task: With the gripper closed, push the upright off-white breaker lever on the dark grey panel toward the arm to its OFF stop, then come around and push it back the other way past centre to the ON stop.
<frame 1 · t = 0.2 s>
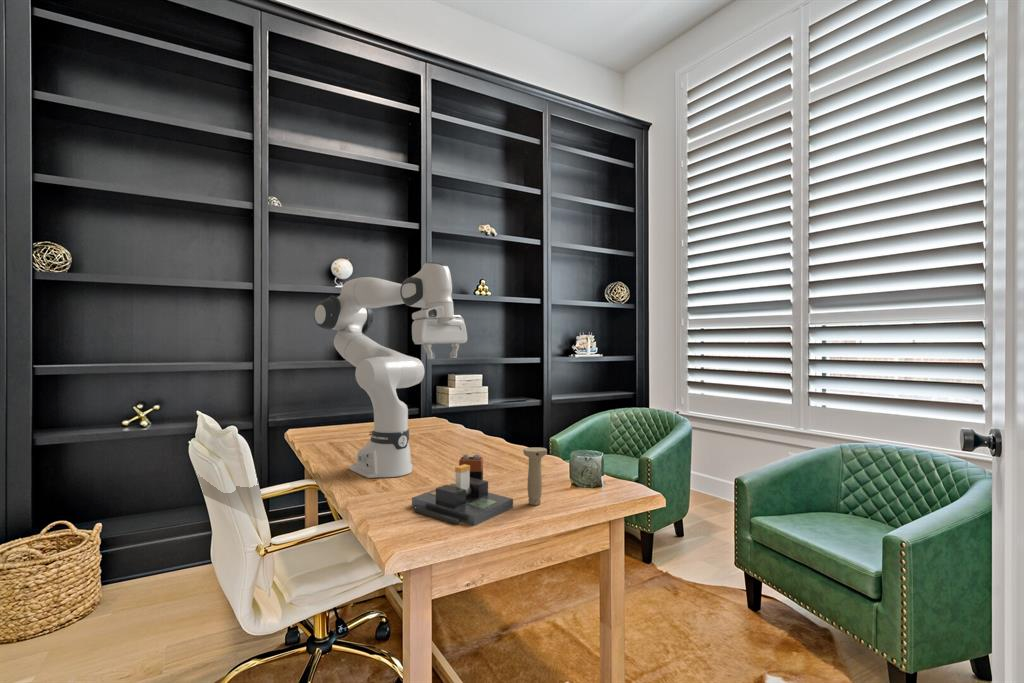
hand: (442, 358, 151), 39 cm above the table, tool pointing down, fingers open, 8 cm apart
panel: (462, 507, 132), on the table
battery: (471, 489, 149), on the table
handle: (534, 504, 135), on the table
cords: (462, 507, 132), on the table
lever: (462, 481, 132), point 7 cm above the table, hinge at 0.0°
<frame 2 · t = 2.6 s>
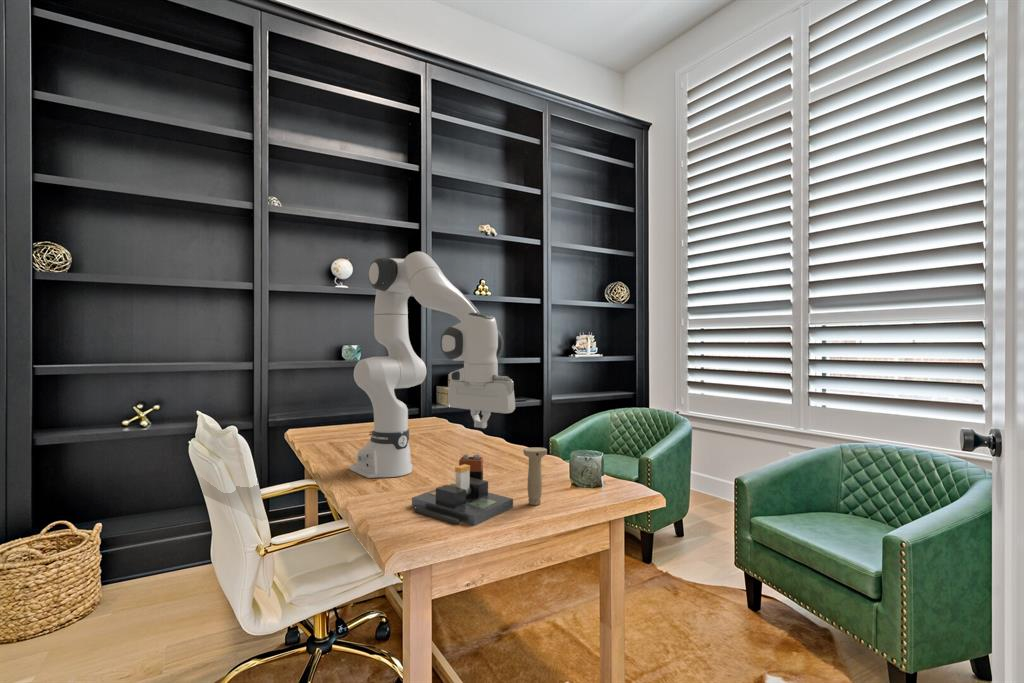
hand: (480, 427, 128), 22 cm above the table, tool pointing down, fingers closed
nothing on the table moved.
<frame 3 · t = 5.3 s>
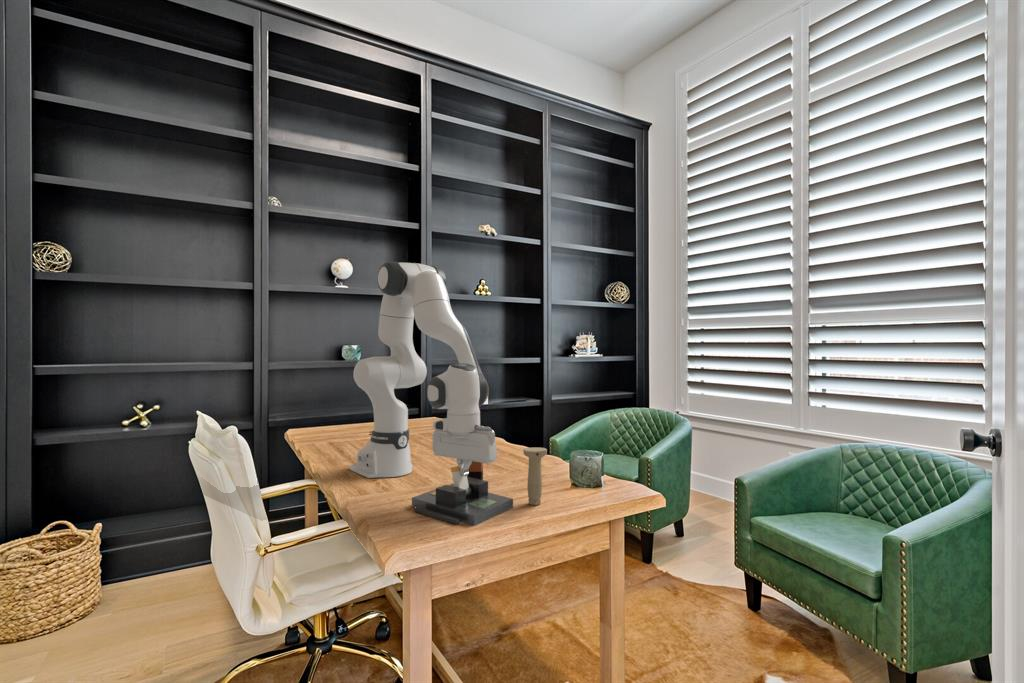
hand: (464, 475, 132), 9 cm above the table, tool pointing down, fingers closed, pressing on lever
lever: (460, 481, 132), point 7 cm above the table, hinge at -13.6°, touching gripper
everything else where it was.
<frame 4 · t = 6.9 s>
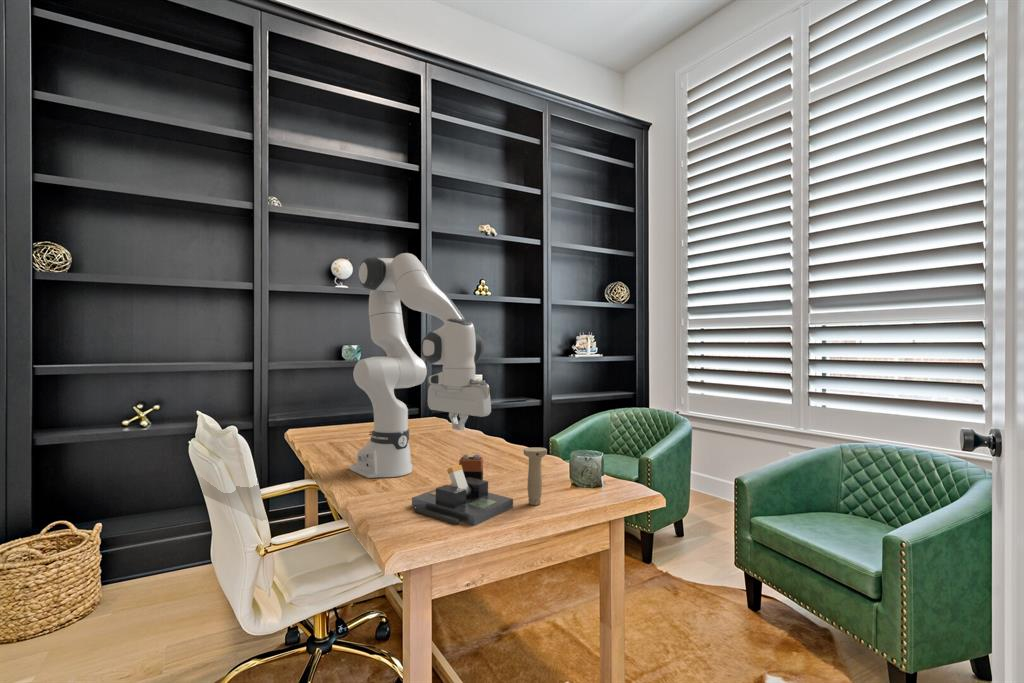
hand: (458, 429, 133), 21 cm above the table, tool pointing down, fingers closed
lever: (458, 481, 133), point 7 cm above the table, hinge at -26.6°
everything else where it was.
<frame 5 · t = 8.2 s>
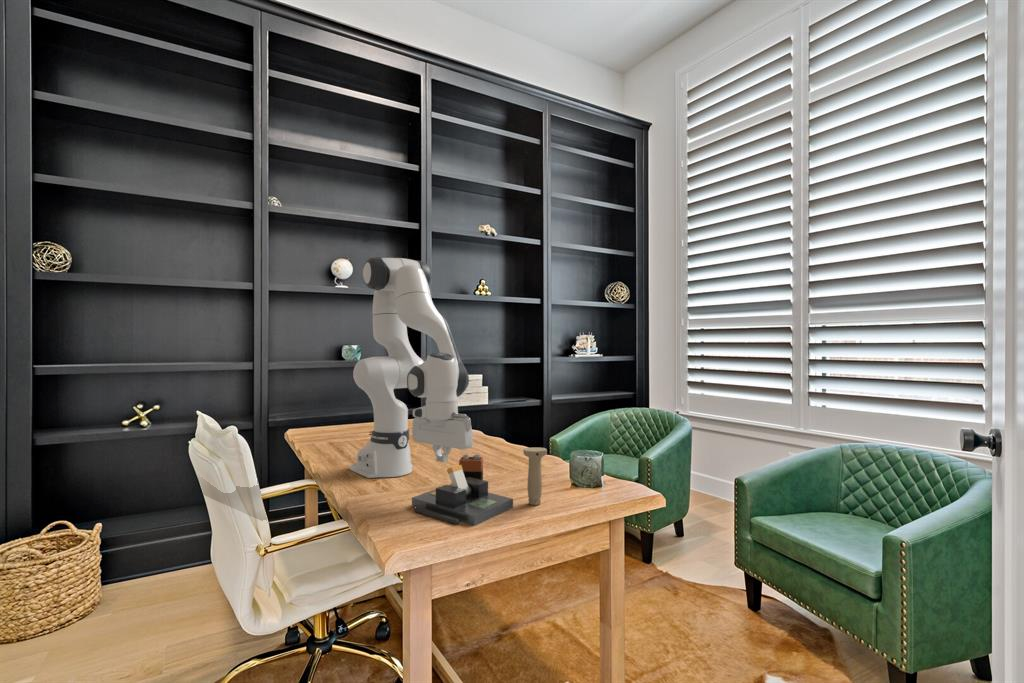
hand: (442, 461, 136), 11 cm above the table, tool pointing down, fingers closed
nothing on the table moved.
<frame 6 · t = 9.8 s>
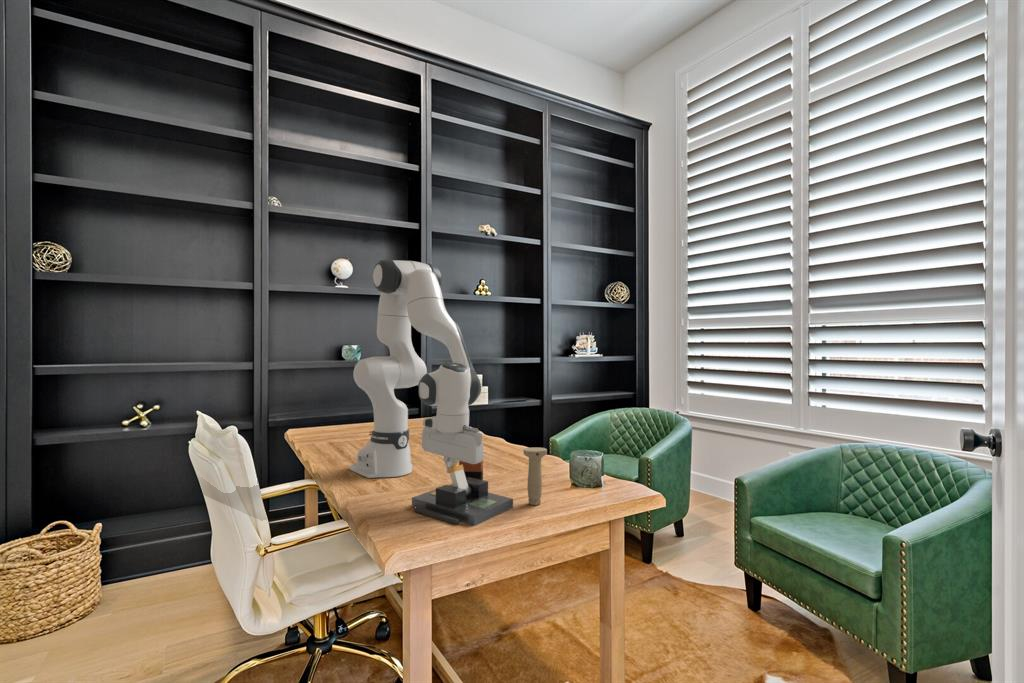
hand: (451, 473, 134), 8 cm above the table, tool pointing down, fingers closed, pressing on lever
lever: (459, 481, 133), point 7 cm above the table, hinge at -22.6°, touching gripper
everything else where it was.
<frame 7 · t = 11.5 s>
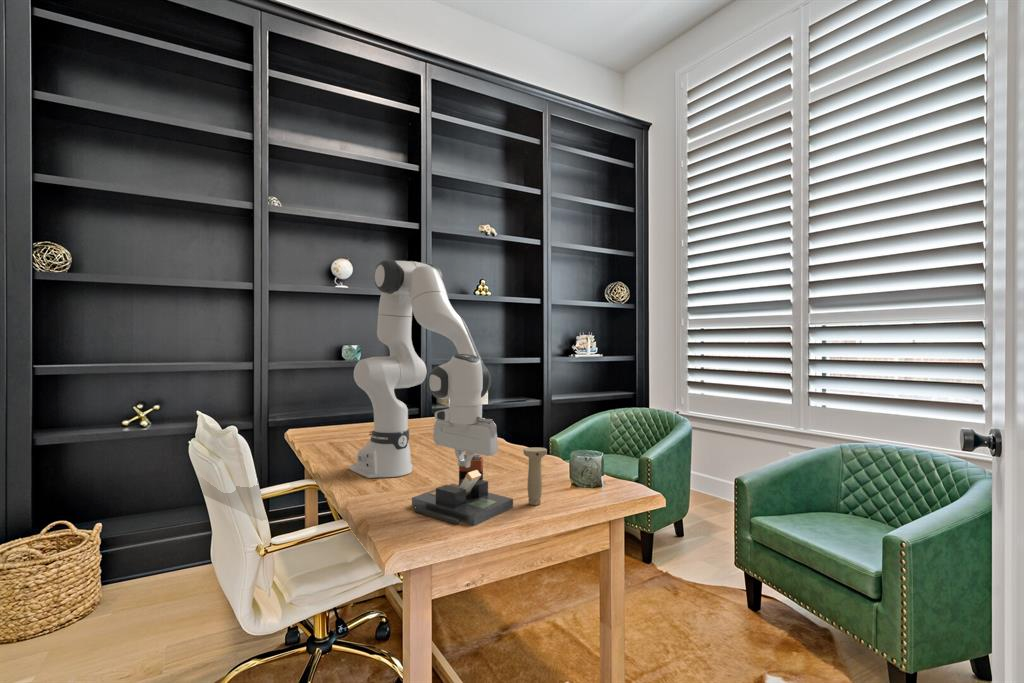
hand: (464, 466, 132), 11 cm above the table, tool pointing down, fingers closed
lever: (467, 484, 131), point 6 cm above the table, hinge at 36.7°
everything else where it was.
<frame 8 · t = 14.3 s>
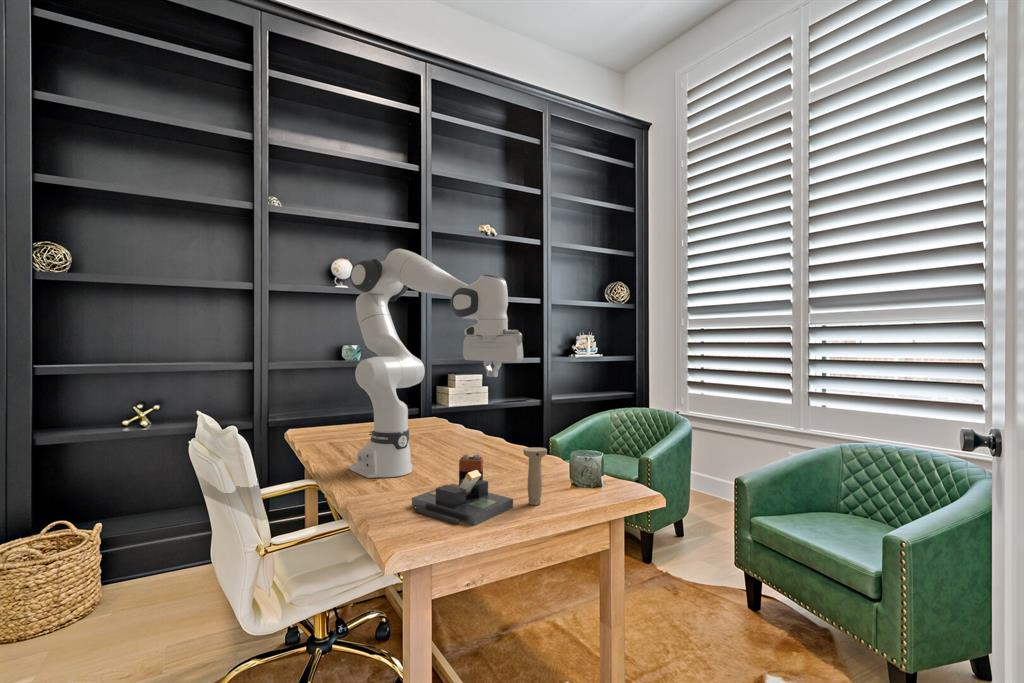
hand: (492, 376, 145), 34 cm above the table, tool pointing down, fingers closed
nothing on the table moved.
at the end: lever at +37° (first picture: +0°) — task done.
